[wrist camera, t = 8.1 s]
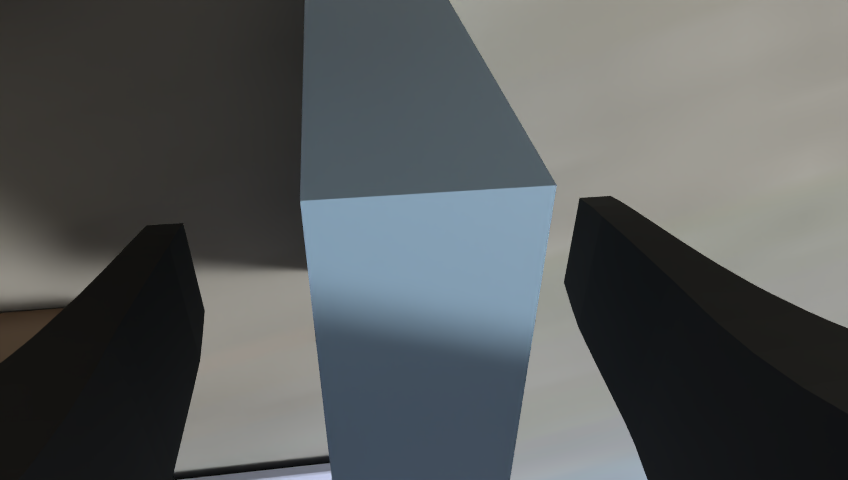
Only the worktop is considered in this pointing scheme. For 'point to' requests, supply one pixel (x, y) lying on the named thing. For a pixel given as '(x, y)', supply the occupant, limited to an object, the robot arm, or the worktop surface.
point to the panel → (417, 242)
